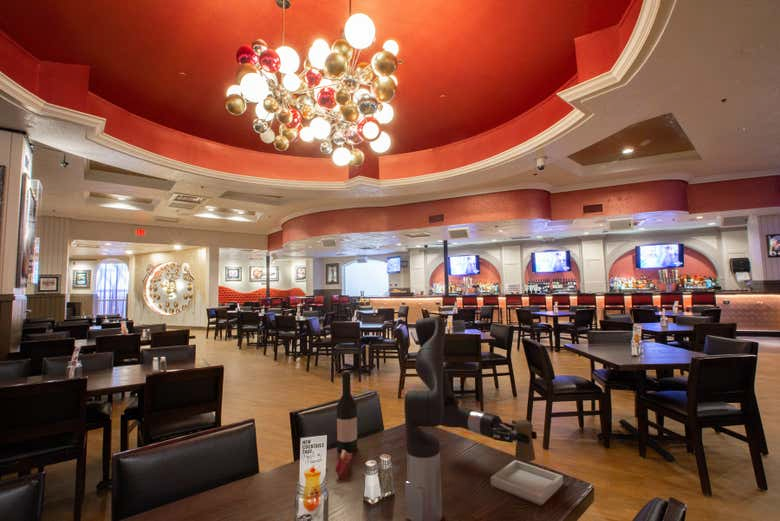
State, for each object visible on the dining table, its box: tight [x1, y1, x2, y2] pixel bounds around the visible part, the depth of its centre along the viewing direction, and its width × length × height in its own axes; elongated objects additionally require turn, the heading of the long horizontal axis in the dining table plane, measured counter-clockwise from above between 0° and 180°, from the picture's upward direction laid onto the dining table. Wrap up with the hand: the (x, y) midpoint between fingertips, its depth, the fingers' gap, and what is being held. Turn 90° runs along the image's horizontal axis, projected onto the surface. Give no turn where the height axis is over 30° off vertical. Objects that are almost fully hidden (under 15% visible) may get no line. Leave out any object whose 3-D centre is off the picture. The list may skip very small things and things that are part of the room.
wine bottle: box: [336, 370, 358, 454], centre depth 146 cm, size 8×8×30 cm
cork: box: [514, 419, 536, 462], centre depth 117 cm, size 6×6×11 cm
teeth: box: [327, 450, 354, 481], centre depth 127 cm, size 10×8×15 cm
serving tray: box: [490, 459, 564, 507], centre depth 116 cm, size 16×16×2 cm
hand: (532, 438), depth 115 cm, fingers closed on cork, 4 cm apart
